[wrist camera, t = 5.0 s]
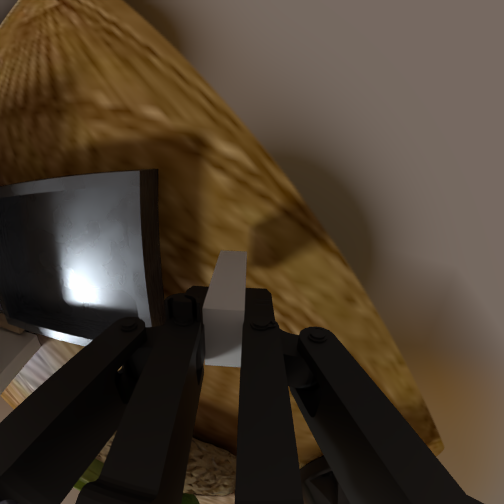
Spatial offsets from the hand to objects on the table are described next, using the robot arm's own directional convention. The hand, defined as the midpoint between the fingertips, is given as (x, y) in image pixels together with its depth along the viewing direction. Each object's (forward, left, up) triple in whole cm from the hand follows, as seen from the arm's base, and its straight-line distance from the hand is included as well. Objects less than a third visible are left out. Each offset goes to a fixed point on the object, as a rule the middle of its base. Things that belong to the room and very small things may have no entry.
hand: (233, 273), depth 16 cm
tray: (+13, 0, -2) cm, 13 cm away
